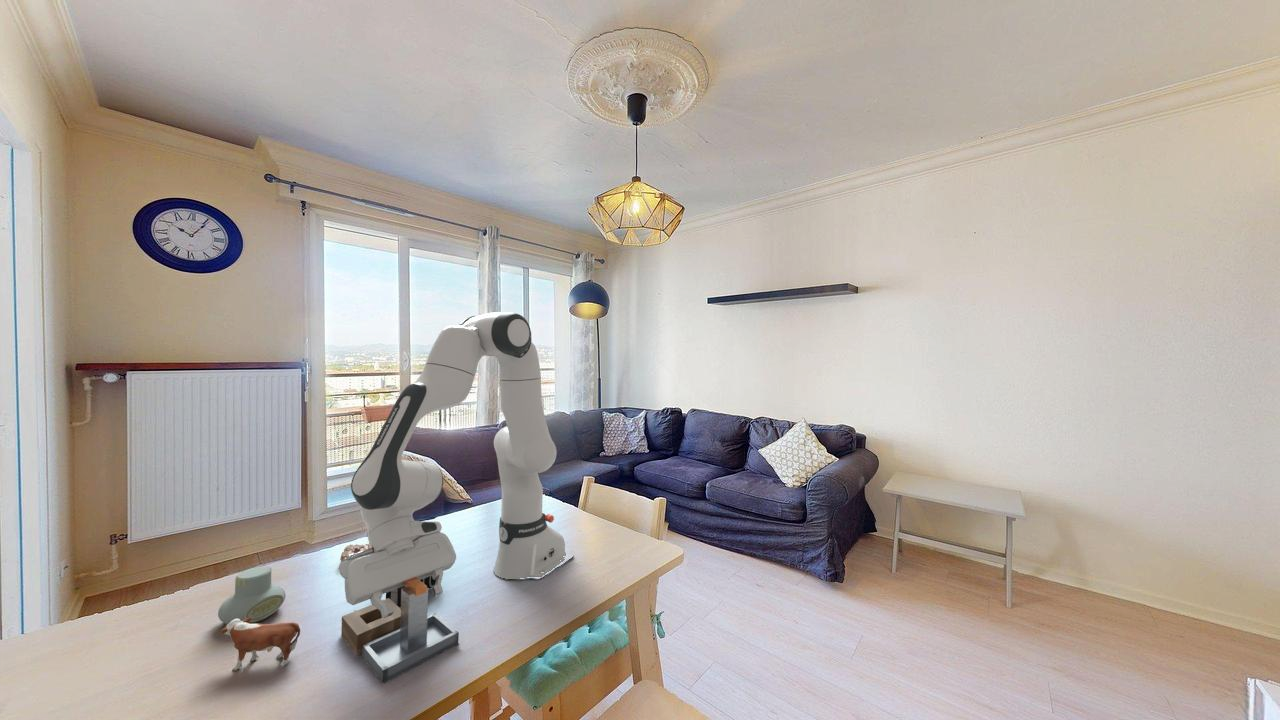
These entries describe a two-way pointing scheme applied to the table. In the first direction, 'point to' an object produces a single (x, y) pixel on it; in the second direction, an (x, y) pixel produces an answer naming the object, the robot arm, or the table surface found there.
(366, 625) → the hitch block
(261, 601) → the air freshener
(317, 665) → the table surface
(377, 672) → the tray
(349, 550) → the mineral specimen
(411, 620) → the orange-topped grey block
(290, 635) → the bull figurine
